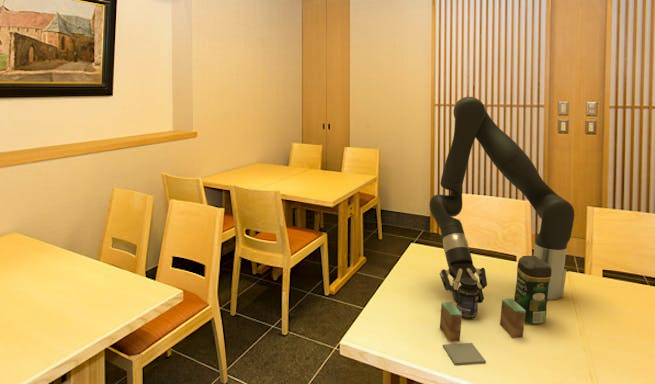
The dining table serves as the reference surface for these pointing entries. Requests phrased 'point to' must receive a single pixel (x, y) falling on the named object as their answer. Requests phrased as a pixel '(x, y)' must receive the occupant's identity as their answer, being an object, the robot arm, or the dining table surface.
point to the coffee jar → (532, 288)
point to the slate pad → (463, 354)
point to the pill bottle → (468, 298)
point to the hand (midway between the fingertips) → (470, 302)
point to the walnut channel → (509, 319)
